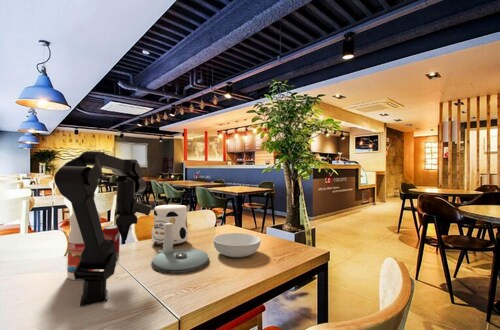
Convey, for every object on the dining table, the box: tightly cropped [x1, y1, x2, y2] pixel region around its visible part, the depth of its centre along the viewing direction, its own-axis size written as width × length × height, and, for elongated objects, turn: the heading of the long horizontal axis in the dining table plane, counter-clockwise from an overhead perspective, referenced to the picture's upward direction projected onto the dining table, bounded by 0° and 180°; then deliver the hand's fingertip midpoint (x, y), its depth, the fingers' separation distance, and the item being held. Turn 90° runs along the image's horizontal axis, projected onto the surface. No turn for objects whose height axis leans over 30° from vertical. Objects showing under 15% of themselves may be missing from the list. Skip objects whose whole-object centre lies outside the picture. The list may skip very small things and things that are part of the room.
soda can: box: [102, 224, 121, 255], centre depth 107 cm, size 7×7×12 cm
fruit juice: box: [66, 193, 102, 281], centre depth 88 cm, size 9×9×28 cm
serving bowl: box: [212, 232, 261, 258], centre depth 113 cm, size 21×21×7 cm
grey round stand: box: [152, 223, 209, 270], centre depth 101 cm, size 21×23×13 cm
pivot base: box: [150, 243, 210, 275], centre depth 102 cm, size 24×22×5 cm
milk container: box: [151, 204, 189, 247], centre depth 126 cm, size 17×17×18 cm
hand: (124, 240), depth 88 cm, fingers closed
